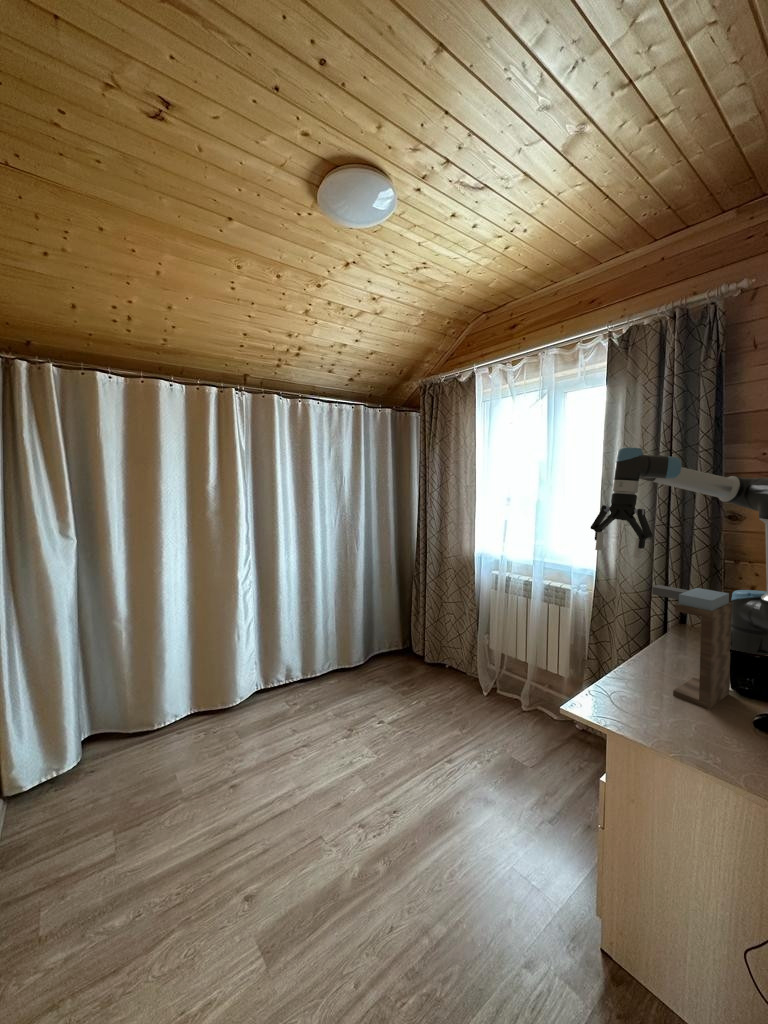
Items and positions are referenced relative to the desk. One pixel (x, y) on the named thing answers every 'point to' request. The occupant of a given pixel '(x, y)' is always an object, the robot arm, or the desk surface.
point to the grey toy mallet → (694, 597)
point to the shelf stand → (710, 657)
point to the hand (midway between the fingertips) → (617, 553)
